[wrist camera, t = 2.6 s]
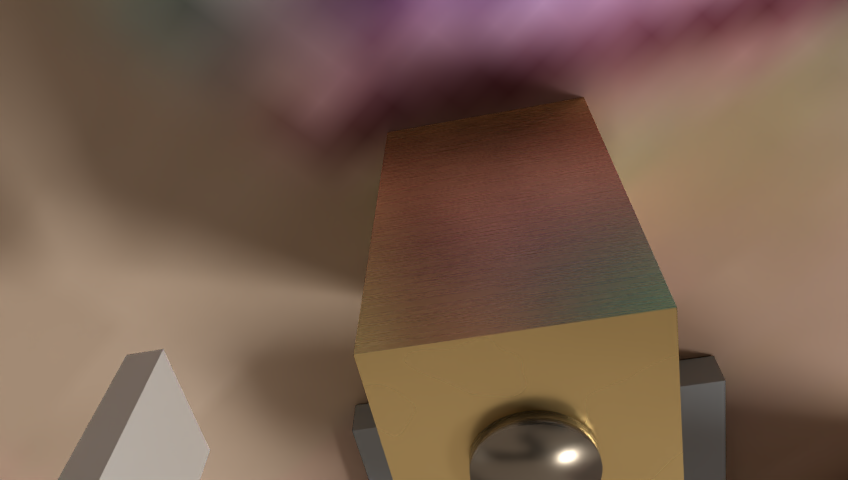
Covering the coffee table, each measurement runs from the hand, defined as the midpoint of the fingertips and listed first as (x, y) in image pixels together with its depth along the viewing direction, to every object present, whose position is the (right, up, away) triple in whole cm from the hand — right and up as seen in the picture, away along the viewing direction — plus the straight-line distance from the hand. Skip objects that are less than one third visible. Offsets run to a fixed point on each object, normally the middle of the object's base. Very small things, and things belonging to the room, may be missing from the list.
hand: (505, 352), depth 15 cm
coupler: (0, +3, +4) cm, 5 cm away
